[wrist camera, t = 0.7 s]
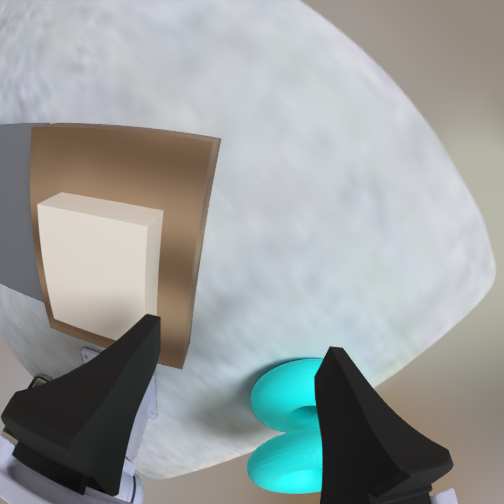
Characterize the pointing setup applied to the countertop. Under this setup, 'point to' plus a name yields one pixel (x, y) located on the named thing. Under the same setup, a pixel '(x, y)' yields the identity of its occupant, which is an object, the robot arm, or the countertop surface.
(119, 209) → the tile
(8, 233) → the mat
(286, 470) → the donuts
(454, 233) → the countertop surface
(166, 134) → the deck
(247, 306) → the countertop surface
